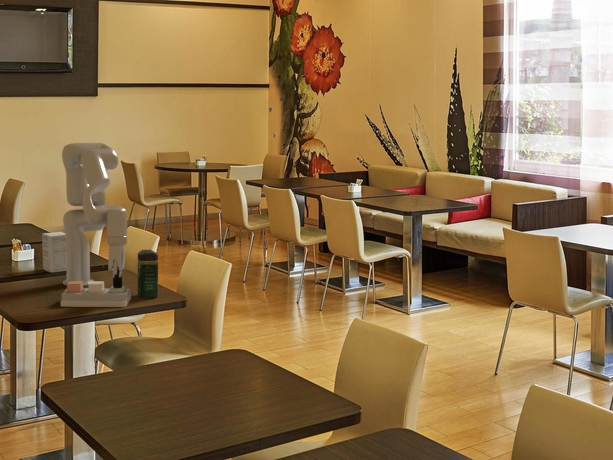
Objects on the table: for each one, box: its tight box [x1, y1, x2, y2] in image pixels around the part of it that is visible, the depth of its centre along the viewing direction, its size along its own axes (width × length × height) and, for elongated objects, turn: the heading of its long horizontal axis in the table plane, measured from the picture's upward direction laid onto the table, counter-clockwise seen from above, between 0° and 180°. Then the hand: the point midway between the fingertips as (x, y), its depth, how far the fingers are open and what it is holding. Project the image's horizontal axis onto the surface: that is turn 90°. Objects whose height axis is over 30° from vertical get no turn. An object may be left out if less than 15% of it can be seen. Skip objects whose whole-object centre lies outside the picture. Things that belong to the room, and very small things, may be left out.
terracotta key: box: [66, 281, 84, 293], centre depth 315 cm, size 5×5×4 cm
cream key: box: [87, 280, 105, 293], centre depth 315 cm, size 5×5×4 cm
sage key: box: [110, 285, 126, 293], centre depth 316 cm, size 5×5×4 cm
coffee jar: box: [137, 249, 159, 299], centre depth 328 cm, size 10×8×19 cm
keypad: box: [60, 287, 132, 308], centre depth 316 cm, size 13×24×4 cm, turn 93°
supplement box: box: [41, 231, 67, 273], centre depth 375 cm, size 10×9×17 cm
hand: (117, 287), depth 316 cm, fingers closed
